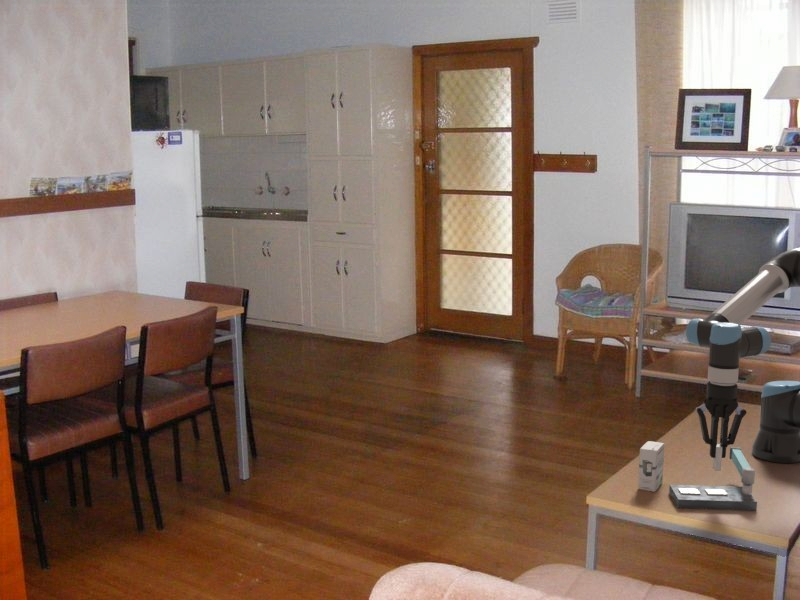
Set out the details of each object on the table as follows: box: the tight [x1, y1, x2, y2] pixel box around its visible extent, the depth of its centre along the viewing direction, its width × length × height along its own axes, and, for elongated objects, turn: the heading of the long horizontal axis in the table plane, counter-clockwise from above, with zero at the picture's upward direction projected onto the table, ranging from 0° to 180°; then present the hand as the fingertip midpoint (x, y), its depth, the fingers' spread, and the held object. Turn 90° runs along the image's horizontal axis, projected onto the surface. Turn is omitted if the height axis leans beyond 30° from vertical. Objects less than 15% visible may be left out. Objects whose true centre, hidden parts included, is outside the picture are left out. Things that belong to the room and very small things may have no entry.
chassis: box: [668, 483, 758, 512], centre depth 250 cm, size 20×11×5 cm, turn 86°
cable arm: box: [729, 446, 756, 485], centre depth 258 cm, size 21×3×4 cm, turn 170°
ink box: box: [637, 440, 665, 492], centre depth 262 cm, size 9×5×12 cm, turn 151°
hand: (716, 469), depth 249 cm, fingers closed
